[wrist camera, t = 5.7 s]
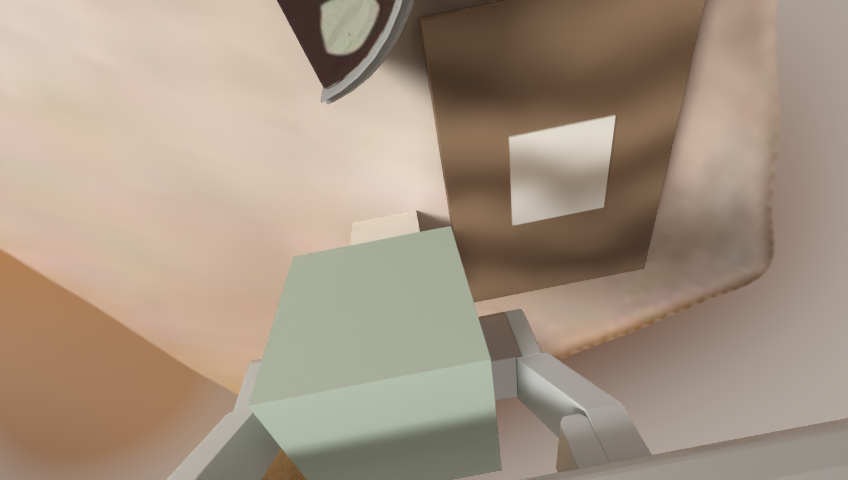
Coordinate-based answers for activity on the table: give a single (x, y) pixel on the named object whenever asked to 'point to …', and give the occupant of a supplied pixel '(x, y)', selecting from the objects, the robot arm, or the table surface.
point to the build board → (556, 132)
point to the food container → (346, 38)
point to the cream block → (384, 227)
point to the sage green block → (380, 365)
